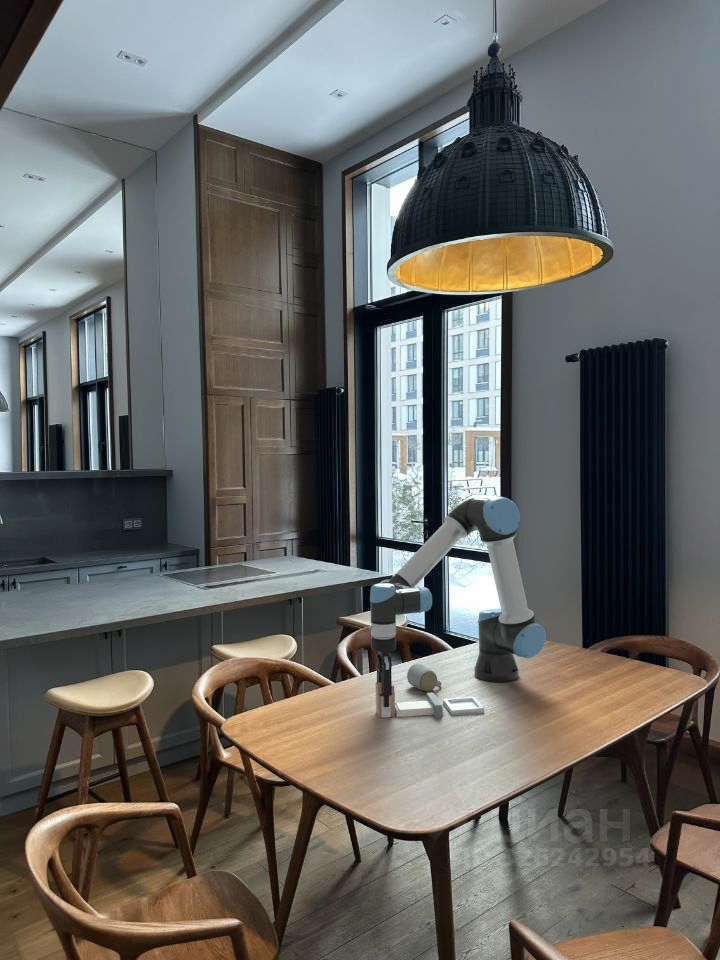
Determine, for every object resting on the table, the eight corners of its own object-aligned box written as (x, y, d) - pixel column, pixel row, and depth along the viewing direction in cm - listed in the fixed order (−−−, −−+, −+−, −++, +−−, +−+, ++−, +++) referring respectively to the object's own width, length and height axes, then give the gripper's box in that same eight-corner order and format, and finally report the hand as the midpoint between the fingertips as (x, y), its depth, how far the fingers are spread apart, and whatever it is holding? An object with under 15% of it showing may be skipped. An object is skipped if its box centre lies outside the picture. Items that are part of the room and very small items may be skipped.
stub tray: (474, 701, 214) (474, 696, 214) (484, 712, 204) (484, 707, 204) (443, 703, 213) (443, 698, 213) (451, 715, 203) (451, 710, 203)
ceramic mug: (420, 694, 221) (420, 671, 221) (406, 687, 228) (406, 664, 228) (447, 689, 227) (447, 666, 226) (432, 682, 234) (432, 660, 233)
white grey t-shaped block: (436, 703, 213) (436, 692, 213) (445, 716, 202) (445, 704, 202) (392, 706, 211) (391, 695, 211) (398, 720, 200) (398, 708, 200)
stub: (392, 711, 208) (392, 681, 207) (395, 715, 204) (394, 685, 203) (376, 712, 207) (375, 682, 207) (378, 717, 203) (377, 687, 203)
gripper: (366, 629, 213) (367, 703, 214) (375, 644, 195) (376, 725, 196) (390, 628, 214) (391, 702, 215) (401, 643, 196) (402, 723, 197)
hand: (384, 713), depth 205 cm, fingers open, 5 cm apart
